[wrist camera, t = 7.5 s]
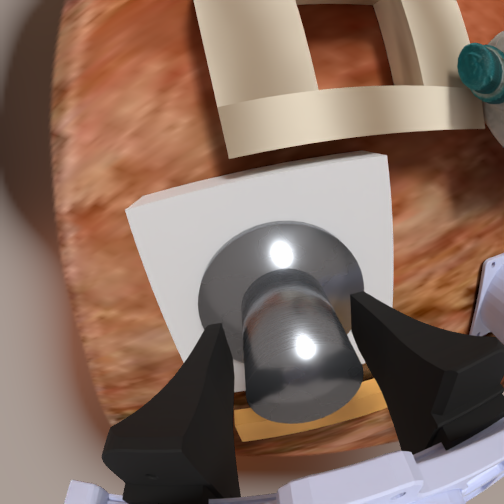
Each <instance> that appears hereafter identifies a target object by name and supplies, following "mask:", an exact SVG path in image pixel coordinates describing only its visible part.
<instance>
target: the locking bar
mask: <svg viewBox="0 0 504 504" xmlns="http://www.w3.org/2000/svg"><path fill="white" fill-rule="evenodd" d="M384 408H387V404H386V402H385V399H384V397H383V394H382V392H381V390H380V388H379V386H378V384H377V382H376V380H375V378H373V379H370V380H367V381H364V382H362V383H361V386H360V388H359V390H358V391H357V393H356V394H355V396H354V397H353V398H352V399H351V400H350V401H349V402H348V403H347V404H346V405H344V406H343V407H342V408H340V409H339V410H337V411H336V412H334V413H332V414H330V415H328V416H326V417H323V418H321V419H318V420H314V421H311V422H305V423H297V424H286V423H278V422H273V421H270V420H267V419H265V418H263V417H261V416H259V415H258V414H256V413H255V412H254V411H253V410H252V409H251V408H245V409H239V410H234V420H235V427H236V429H237V432H238V434H239V436H240V438H241V440H242V442H245V441H252V440H259V439H265V438H271V437H277V436H282V435H288V434H293V433H298V432H302V431H307V430H311V429H315V428H320V427H324V426H328V425H332V424H335V423H339V422H343V421H346V420H350V419H353V418H357V417H360V416H363V415H366V414H369V413H373V412H376V411H379V410H382V409H384Z"/></svg>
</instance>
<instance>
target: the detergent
mask: <svg viewBox="0 0 504 504" xmlns="http://www.w3.org/2000/svg"><path fill="white" fill-rule="evenodd" d="M457 69H458V74H459V76H460V79H461V81H462V82H463V84H464V85H466V86H467V87H468V88H470V90H471V91H472V93H473V94H474V96H475V97H477V98H478V99H480V100H482V106H483V114H484V121H485V123H486V125H487V126H488V128H489V129H490V131H491V132H492V134H493V135H494V137H495V138H496V139H497V141H498V142H499V143H500V144H501V145H502V146H503V147H504V31H502V32H501V33H499V34H498V35H496V36H495V37H494V38H493V39H492V41H490V42H489V44H488V45H482V44H478V43H471V44H468V45H466V46H464V48H463V49H462V51H461V52H460V54H459V57H458V64H457Z"/></svg>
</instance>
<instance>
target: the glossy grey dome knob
mask: <svg viewBox="0 0 504 504" xmlns="http://www.w3.org/2000/svg"><path fill="white" fill-rule="evenodd" d="M361 291H364V282H363V276H362V272H361V269H360V267H359V265H358V262H357V260H356V259H355V257H354V256H353V254H352V253H351V252H350V250H349V249H348V248H347V247H346V246H345V245H344V244H343V243H342V242H341V241H340V240H339V239H338V238H337V237H335V236H334V235H333V234H331V233H330V232H328V231H326V230H325V229H323V228H320V227H318V226H315V225H312V224H308V223H305V222H298V221H275V222H268V223H264V224H261V225H257V226H254V227H252V228H249V229H247V230H245V231H243V232H241V233H239V234H238V235H236V236H234V237H233V238H232V239H230V240H229V241H228V242H226V243H225V244H224V245H223V246H222V247H221V248H220V249H219V250H218V251H217V252H216V253H215V255H214V256H213V257H212V259H211V260H210V262H209V264H208V265H207V267H206V269H205V271H204V274H203V277H202V280H201V284H200V289H199V294H198V311H199V317H200V320H201V324H202V326H203V328H204V330H205V328H206V326H207V325H211V324H217V323H221V324H222V327H223V330H224V333H225V336H226V339H227V342H228V345H229V348H230V351H231V354H232V357H233V359H234V360H236V361H238V362H241V363H244V369H245V386H246V398H247V402H248V404H249V406H250V407H251V409H252V410H253V411H254V412H255V413H256V414H258V415H259V416H261V417H263V418H265V419H267V420H270V421H273V422H278V423H286V424H297V423H305V422H311V421H314V420H318V419H321V418H323V417H326V416H328V415H330V414H332V413H334V412H336V411H337V410H339V409H340V408H342V407H343V406H344V405H346V404H347V403H348V402H349V401H350V400H351V399H352V398H353V397H354V396H355V394H356V393H357V391H358V390H359V388H360V386H361V383H362V380H363V367H362V364H361V362H360V360H359V358H358V356H357V354H356V352H355V350H354V348H353V346H352V344H351V342H350V340H349V338H348V336H347V334H348V333H349V332H350V331H351V306H350V294H354V293H357V292H361Z"/></svg>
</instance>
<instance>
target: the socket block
mask: <svg viewBox="0 0 504 504" xmlns="http://www.w3.org/2000/svg"><path fill="white" fill-rule="evenodd" d="M125 211H126V215H127V218H128V221H129V224H130V227H131V230H132V233H133V236H134V239H135V242H136V245H137V248H138V251H139V254H140V257H141V259H142V262H143V265H144V268H145V271H146V273H147V276H148V279H149V281H150V284H151V287H152V289H153V292H154V294H155V297H156V299H157V302H158V304H159V307H160V309H161V312H162V314H163V317H164V319H165V321H166V324H167V326H168V328H169V331H170V333H171V335H172V338H173V340H174V342H175V345H176V347H177V349H178V351H179V353H180V356H181V358H182V360H183V362H185V361H186V359H187V358H188V356H189V355H190V353H191V352H192V350H193V348H194V347H195V345H196V344H197V342H198V340H199V338H200V337H201V335H202V333H203V331H204V328H203V326H202V324H201V320H200V317H199V311H198V294H199V289H200V284H201V280H202V277H203V274H204V271H205V269H206V267H207V265H208V264H209V262H210V260H211V259H212V257H213V256H214V255H215V253H216V252H217V251H218V250H219V249H220V248H221V247H222V246H223V245H224V244H225V243H226V242H228V241H229V240H230V239H232V238H233V237H234V236H236V235H238V234H239V233H241V232H243V231H245V230H247V229H249V228H252V227H254V226H257V225H261V224H264V223H268V222H275V221H298V222H305V223H308V224H312V225H315V226H318V227H320V228H323V229H325V230H326V231H328V232H330V233H331V234H333V235H334V236H335V237H337V238H338V239H339V240H340V241H341V242H342V243H343V244H344V245H345V246H346V247H347V248H348V249H349V250H350V252H351V253H352V254H353V256H354V257H355V259H356V260H357V262H358V265H359V267H360V269H361V272H362V276H363V282H364V292H366V293H368V294H369V295H371V296H373V297H374V298H376V299H378V300H379V301H381V302H383V303H384V304H386V305H388V306H390V307H391V308H392V303H393V223H392V205H391V190H390V179H389V169H388V159H387V155H383V154H378V153H373V152H368V151H363V150H360V151H353V152H346V153H339V154H333V155H326V156H320V157H314V158H308V159H302V160H297V161H291V162H286V163H280V164H275V165H270V166H265V167H260V168H255V169H250V170H246V171H241V172H236V173H232V174H227V175H223V176H219V177H214V178H210V179H206V180H202V181H198V182H194V183H190V184H186V185H182V186H178V187H174V188H170V189H167V190H163V191H159V192H156V193H152V194H148V195H145V196H143V197H141V198H140V199H139V200H137V201H136V202H135V203H133V204H132V205H131V206H130V207H128V208H127V209H126V210H125ZM347 336H348V338H349V340H350V342H351V344H352V346H353V348H354V350H355V352H356V354H357V356H358V358H359V360H360V362H361V364H363V363H366V362H365V360H364V359H363V357H362V355H361V353H360V351H359V350H358V347H357V345H356V342H355V340H354V337H353V334H352V332H351V331H350V332H349V333H348V334H347ZM233 365H234V376H235V380H234V392H240V391H246V386H245V369H244V363H241V362H238V361H236V360H234V359H233Z"/></svg>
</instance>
